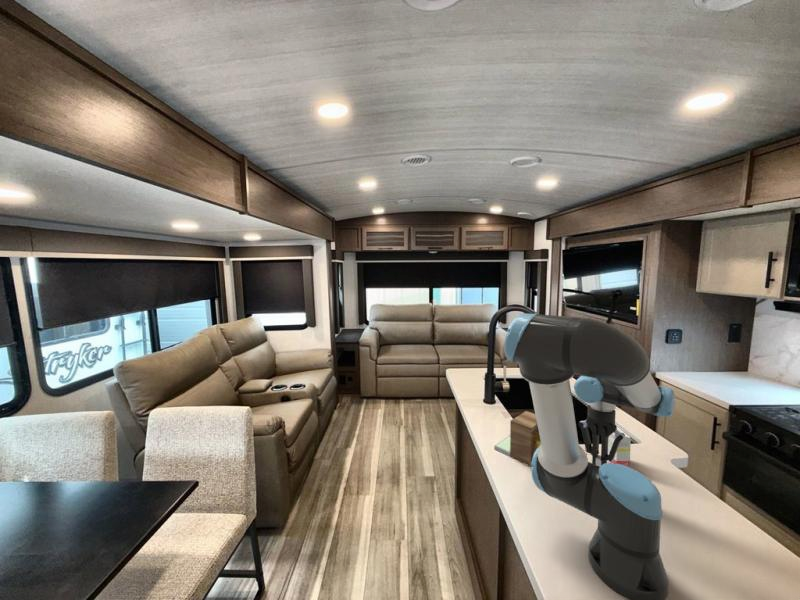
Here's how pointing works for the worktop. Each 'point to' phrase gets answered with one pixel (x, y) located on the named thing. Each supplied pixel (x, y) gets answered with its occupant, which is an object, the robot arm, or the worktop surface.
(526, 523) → the worktop surface
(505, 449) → the deck
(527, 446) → the wooden house block
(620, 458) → the ink box
